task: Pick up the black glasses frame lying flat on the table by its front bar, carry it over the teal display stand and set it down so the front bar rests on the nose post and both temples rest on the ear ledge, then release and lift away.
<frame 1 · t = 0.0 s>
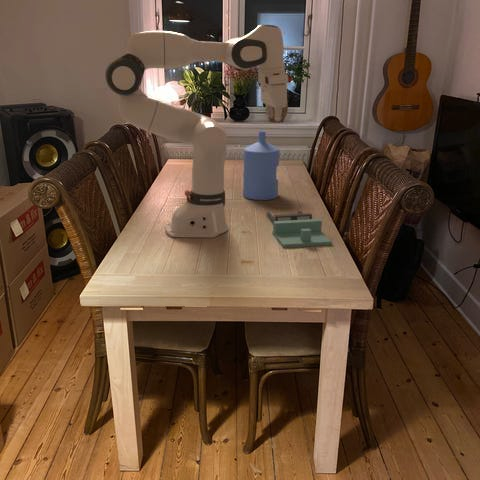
hand: (274, 118, 174), 39 cm above the table, tool pointing down, fingers open, 8 cm apart
water jug: (260, 196, 225), on the table
display stand: (305, 243, 171), on the table
glasses frame: (292, 225, 189), on the table
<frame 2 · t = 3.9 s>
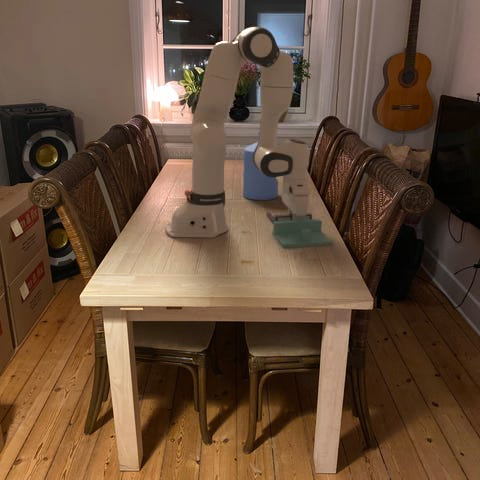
hand: (292, 220, 188), 2 cm above the table, tool pointing down, fingers closed on glasses frame, 2 cm apart
glasses frame: (292, 225, 189), on the table, touching gripper
everything else where it was.
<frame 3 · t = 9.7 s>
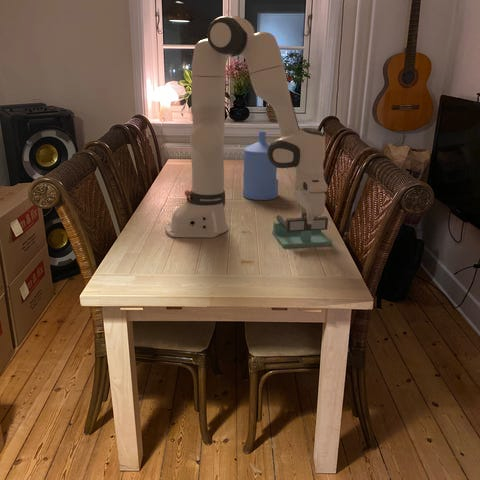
hand: (306, 220, 168), 8 cm above the table, tool pointing down, fingers open, 5 cm apart
glasses frame: (306, 229, 169), point 5 cm above the table, touching display stand
everything else where it was.
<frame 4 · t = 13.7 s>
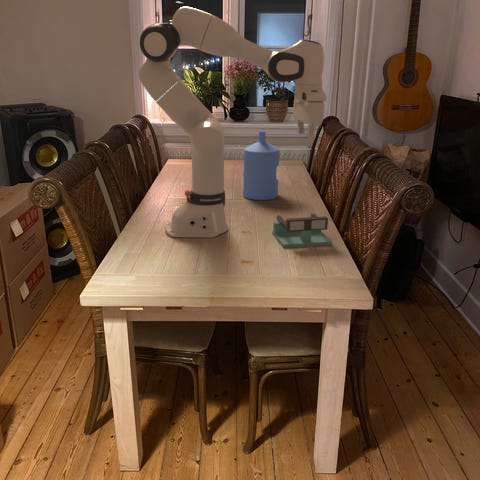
hand: (305, 136, 170), 34 cm above the table, tool pointing down, fingers open, 8 cm apart
nothing on the table moved.
at the end: glasses frame 0.1 cm off-centre on the display stand, point 5.0 cm above the display stand's base; glasses frame tilted 0°; the gripper is holding nothing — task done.
